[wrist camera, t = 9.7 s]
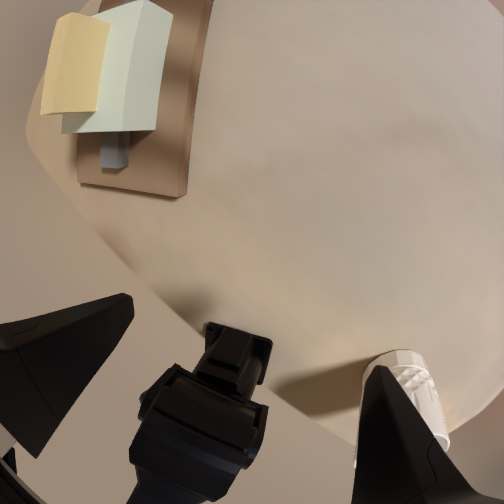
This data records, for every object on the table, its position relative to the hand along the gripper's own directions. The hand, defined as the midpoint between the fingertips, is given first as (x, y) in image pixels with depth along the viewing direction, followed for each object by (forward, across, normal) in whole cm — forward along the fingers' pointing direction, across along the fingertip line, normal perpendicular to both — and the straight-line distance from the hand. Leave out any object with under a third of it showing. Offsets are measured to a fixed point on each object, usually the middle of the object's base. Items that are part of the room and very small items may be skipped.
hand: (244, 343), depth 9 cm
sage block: (+12, +15, -11) cm, 22 cm away
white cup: (+13, -13, +12) cm, 22 cm away
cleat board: (+13, +15, -11) cm, 23 cm away
